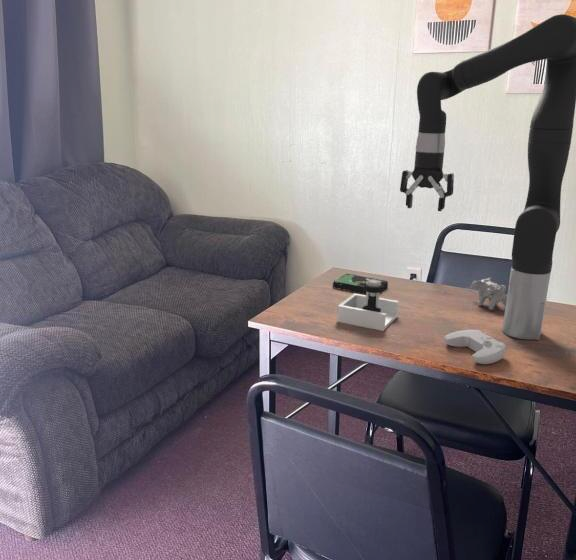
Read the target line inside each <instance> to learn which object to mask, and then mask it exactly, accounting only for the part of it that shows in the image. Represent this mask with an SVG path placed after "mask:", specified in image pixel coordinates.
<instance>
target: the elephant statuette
mask: <svg viewBox="0 0 576 560" xmlns="http://www.w3.org/2000/svg"><path fill="white" fill-rule="evenodd" d="M472 289H473V290H475V291H476V290H477V291H478V301H477V306H479V307H482V306H483V305H484V303H485V302H486V300H487V299H488V302H489V305H488V310H489V311H493V310H494V308H495V306H496V305H498V304H499V303H502V304H503V306H504V307H506V300H507V294H506V290H508V289H507V286H506V285H504V284H501V285H500V284H498V283H496V282H493V281H492V277H488V278H483V279H481V280H480V279H479V280H473V281H472V283H471V285H470V286H469V290H472Z"/></svg>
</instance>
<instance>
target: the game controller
mask: <svg viewBox="0 0 576 560" xmlns="http://www.w3.org/2000/svg"><path fill="white" fill-rule="evenodd" d="M444 343H445V344H447V345H449V346H451V347H454V348H455V347H459V348H460V347H461V348H462V347H463V348H466V347H467V348H469V349H471V350H472V351H474V352H475V353H473V354H472V355H471V360H472V361H474V362H475V363H477V364H479V365H491V364H494V363H496V362H498V361H500V360H501V359H503V358H505V355H506V353H507V347H506V344H505V343H504V342H502V341H498V340H497V339H494V337H492V336H491V335H488V334H486V333H484V331H482V330H481V329H466V330H464V329H463V330H458V331H453V332H450V333H448V334H446V335H445V336H444Z"/></svg>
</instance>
